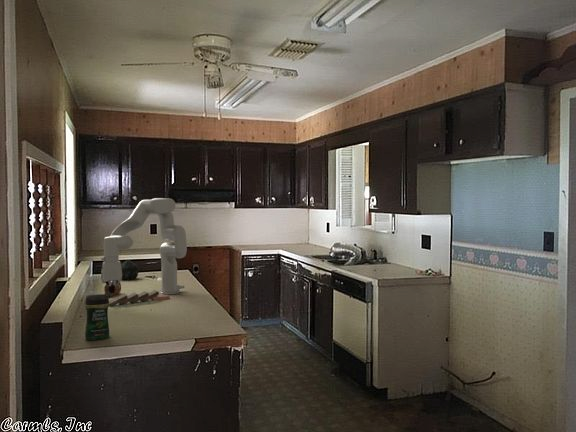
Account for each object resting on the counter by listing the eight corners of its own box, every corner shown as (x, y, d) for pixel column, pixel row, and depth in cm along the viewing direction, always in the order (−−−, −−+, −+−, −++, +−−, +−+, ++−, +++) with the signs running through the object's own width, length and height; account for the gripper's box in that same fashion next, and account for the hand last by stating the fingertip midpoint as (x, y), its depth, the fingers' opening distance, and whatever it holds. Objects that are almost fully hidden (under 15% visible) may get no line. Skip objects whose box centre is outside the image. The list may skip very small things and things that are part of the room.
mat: (150, 299, 286) (150, 298, 286) (158, 302, 277) (158, 301, 277) (94, 306, 266) (94, 305, 266) (101, 310, 257) (101, 309, 257)
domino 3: (129, 302, 275) (145, 294, 281) (132, 303, 271) (149, 295, 277) (128, 299, 274) (144, 291, 280) (131, 300, 270) (148, 292, 276)
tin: (108, 297, 290) (107, 283, 289) (103, 297, 290) (103, 283, 290) (121, 293, 304) (121, 279, 304) (117, 292, 305) (116, 279, 305)
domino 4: (140, 300, 279) (155, 293, 285) (143, 302, 275) (159, 294, 281) (138, 297, 278) (154, 290, 284) (142, 299, 274) (158, 291, 280)
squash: (125, 269, 365) (119, 256, 355) (144, 270, 362) (138, 257, 352) (117, 284, 355) (110, 271, 345) (136, 286, 352) (130, 272, 342)
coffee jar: (86, 342, 202) (85, 297, 201) (84, 337, 209) (83, 294, 208) (111, 339, 206) (110, 295, 205) (108, 334, 213) (107, 292, 212)
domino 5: (149, 299, 282) (166, 298, 289) (153, 300, 279) (169, 299, 285) (150, 295, 282) (166, 294, 289) (153, 297, 279) (170, 296, 285)
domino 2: (118, 303, 271) (135, 295, 277) (122, 305, 267) (138, 297, 273) (117, 300, 270) (134, 292, 276) (120, 302, 267) (137, 293, 272)
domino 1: (107, 305, 267) (124, 297, 273) (111, 307, 263) (128, 298, 269) (106, 302, 267) (123, 293, 272) (109, 303, 263) (126, 295, 269)
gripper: (99, 261, 257) (100, 295, 258) (127, 259, 267) (127, 292, 268) (94, 259, 263) (95, 293, 264) (122, 257, 273) (122, 290, 273)
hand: (111, 292), depth 266 cm, fingers closed
